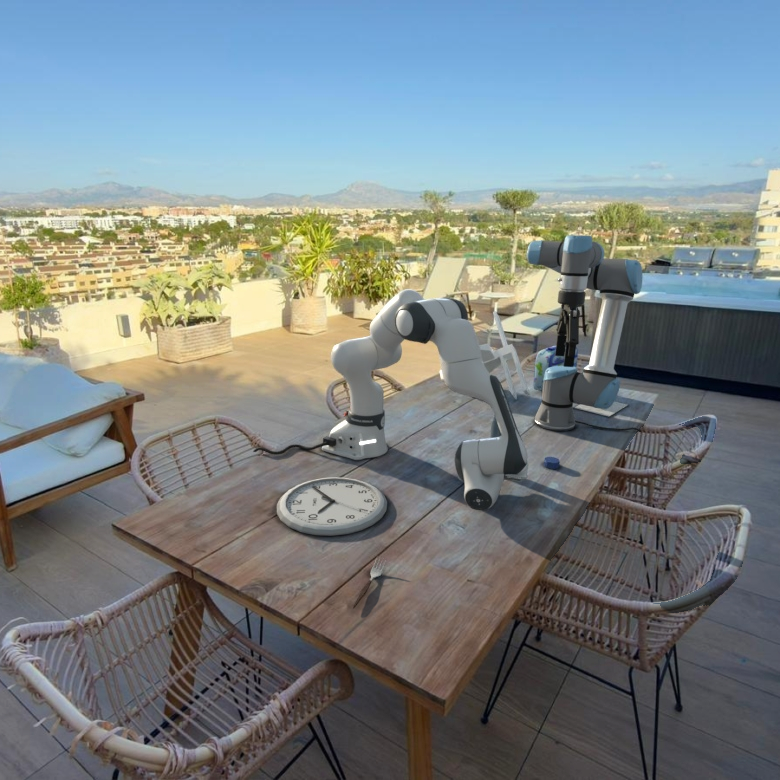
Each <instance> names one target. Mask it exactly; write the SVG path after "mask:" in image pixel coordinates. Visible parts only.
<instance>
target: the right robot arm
mask: <svg viewBox="0 0 780 780" xmlns="http://www.w3.org/2000/svg"><path fill="white" fill-rule="evenodd" d="M526 259H527V260H526V261H527V262H528V264H529V265H534V266H544V267H546V268H548V269H550V270H551V271H554V272H556V273H559V274H560V277H559V278H558V279H557V282H559V291H558V293H557V294H558V295H557V303H558V304H560V313H559V317H558V320H557V325H556V329H555V331H556V334H557V336H556V344H555V346H556V352H555V356H564V355H565V357H564V365H563V366H553V367H550V368H548V369H546V371H545V375H544V379H543V380H544V381H543V391H541V392H542V394H541V402H540V405H539V407H538V410H537V411H536V413H535V417H534V424H535V425H536V426H537V427H539V428H542V429H544V430H549V431H556V432H567V431H572V430H574V429H575V428H576V423H577V424H580V425H584V426H588V427H591V428H595V429H600V430H609V431H631V430H634V431H637V432H639V433H640V434H641V433H642V434H643V431H642V430H641V429H639V428H637V427H626V428H625V427H624V428H617V427H616V428H615V427H605V426H598V425H594V424H591V423H588V422H587V423H586V422H583V421H579V420H577V419H576V418H575V417H576V416H575V413H574V407H573V405H574V404H578V405H580V404H582V405H586V406H591V407H594V408H602V409H607V408H609V407H611V405H612V404H613V403H614V402H616V399H617V398H618V397H617V396H618V394H619V391H620V387H621V386H620V385H621V380H620V379H619V378H617V375H618V373H617V372H616V370H615V364H616V359H617V354H618V350H619V345H620V341H621V336H622V331H623V327H624V323H625V318H626V312H627V308H628V304H629V303H630V302H631V301H633V300H634V299H635V295H639V294H640V293H641V290H642V287H643V267H642V263H641V262H640V261H638V260H637V259H630V258H629V259H628V258H605V249H604V247H603V245H601V243H598V242H596V241H593V237H592V236H591V235H584V234H583V235H580V234H579V235H578V234H569V235H566V237H564V240H562V241H560V240H558V241H557V240H543V239H541V240H532V241H531V242H530V243H529V244H528V247H527V251H526ZM586 290H592V291H599V293H598V294H599V295H598V296H599V298H601V305H600V309H599V315H598V319H597V324H596V329H595V334H594V338H593V343H592V348H591V352H590V357H589V358H590V359H589V362H588V364H587V365H586V366H584V367H583V370H582V372H578V368H577V366H576V367H574V359H575V351H576V347H577V345H579V343H580V342H579V341H580V313H581V311H580V309H577V308H578V306H582V305H584V304H585V303H586V294H587V293H586ZM565 347H566V348H565Z"/></svg>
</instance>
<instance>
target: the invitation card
mask: <svg viewBox="0 0 780 780" xmlns="http://www.w3.org/2000/svg"><path fill="white" fill-rule="evenodd" d="M628 406H629V404H627V403H623V402H618V401H614V403H613V404H612V405H611V407H609V408H607V409H602V408H594V407H591V406H586V405H582V404H578V405H575V406H574V407H573V409H575V410H581V411H584V412H587V413H593V414H596V415H600V416H604V417H608V418H609V417H611V416H613V415H614V414H616V413H617V412H619V411H621V410H623V409H624V408H626V407H628Z"/></svg>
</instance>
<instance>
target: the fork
mask: <svg viewBox="0 0 780 780" xmlns="http://www.w3.org/2000/svg"><path fill="white" fill-rule="evenodd" d="M377 560H378V561H377ZM380 560H381V562H380ZM383 561H384V562H383ZM386 561H387V559H385V560H384V558H382V559H381V558H379V559H378V555H376V558H375V561H374V563H373V566H372V568H371V570H370V576H371V577H370V578H369V580H368V581H367V582H366V583H365V584H364V586H363V587H362V588H361V590H360V591H359V594H358V596H357V598H356V599H355V602H354V605H353V607H352V609H355V608H356V607H357V606H358V604H359V603H360V601H361V600H362V599H363V597H364V596H365V595H366V594H367V593H368V591H369V588H370V585H371V583H372V581H373V580H374V579H375V578H379V577H381V576H382V575H383V573H384V569H385V565H386V563H387V562H386Z"/></svg>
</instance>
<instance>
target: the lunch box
mask: <svg viewBox="0 0 780 780" xmlns="http://www.w3.org/2000/svg"><path fill="white" fill-rule="evenodd" d="M565 348H566V347H565ZM555 352H556V345H553V346H549V347H546V348H544V349H541V350H539V351H538V353H537V354H536V357H535V361H534V371H533V372H534V373H533V389H534V390H535V391H539V392H542V391H543V381H544V380H543V379H544V375H545V371H546V369H548V368H550V367H553V366H563V365H564V357H565V355H564V356H555ZM578 353H579V352H578V347H577V346H576V351H575V359H574V367H576V368H577V366H578V356H579V354H578Z"/></svg>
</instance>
